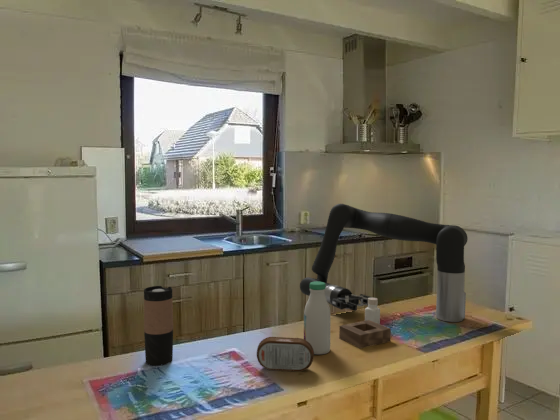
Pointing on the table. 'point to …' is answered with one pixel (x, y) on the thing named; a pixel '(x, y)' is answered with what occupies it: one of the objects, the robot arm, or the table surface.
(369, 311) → the salt shaker
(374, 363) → the table surface
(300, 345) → the tin
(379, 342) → the walnut stand
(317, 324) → the milk bottle
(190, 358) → the table surface
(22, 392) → the table surface
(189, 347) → the table surface
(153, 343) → the travel mug
